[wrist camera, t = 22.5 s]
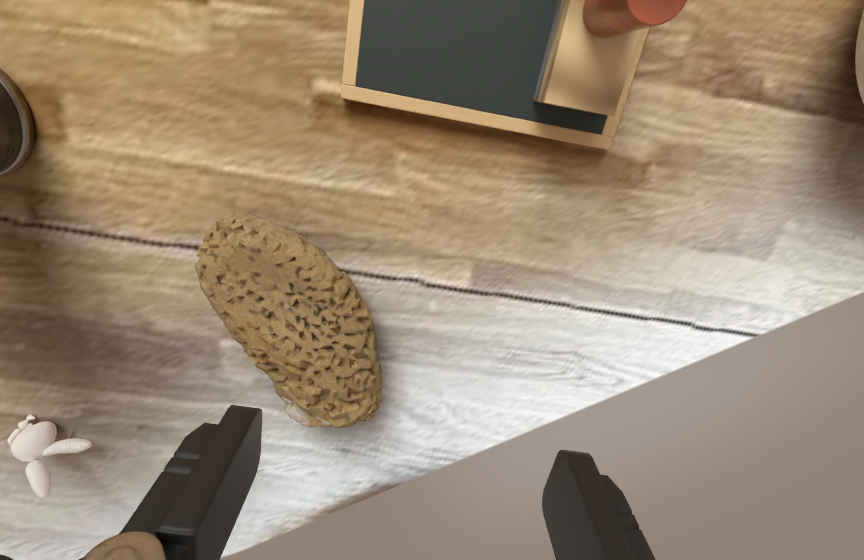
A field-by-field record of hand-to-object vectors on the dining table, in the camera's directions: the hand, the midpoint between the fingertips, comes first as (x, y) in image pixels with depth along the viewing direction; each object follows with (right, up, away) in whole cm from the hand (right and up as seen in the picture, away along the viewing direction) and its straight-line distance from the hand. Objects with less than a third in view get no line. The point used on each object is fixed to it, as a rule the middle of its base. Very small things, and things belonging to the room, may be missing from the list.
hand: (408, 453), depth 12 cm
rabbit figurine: (-37, -11, +35) cm, 52 cm away
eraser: (+12, +23, +20) cm, 32 cm away
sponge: (-11, +2, +30) cm, 32 cm away
